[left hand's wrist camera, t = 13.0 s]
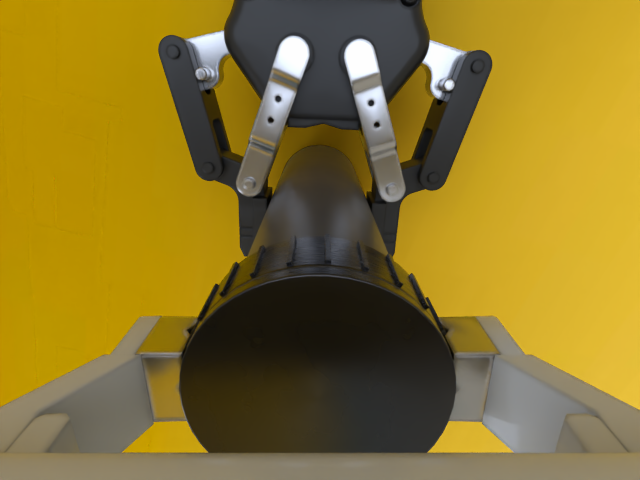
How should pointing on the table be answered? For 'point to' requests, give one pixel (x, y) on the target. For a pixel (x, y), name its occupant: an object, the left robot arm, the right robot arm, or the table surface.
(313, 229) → the dark grey cylinder
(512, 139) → the table surface
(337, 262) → the lid
